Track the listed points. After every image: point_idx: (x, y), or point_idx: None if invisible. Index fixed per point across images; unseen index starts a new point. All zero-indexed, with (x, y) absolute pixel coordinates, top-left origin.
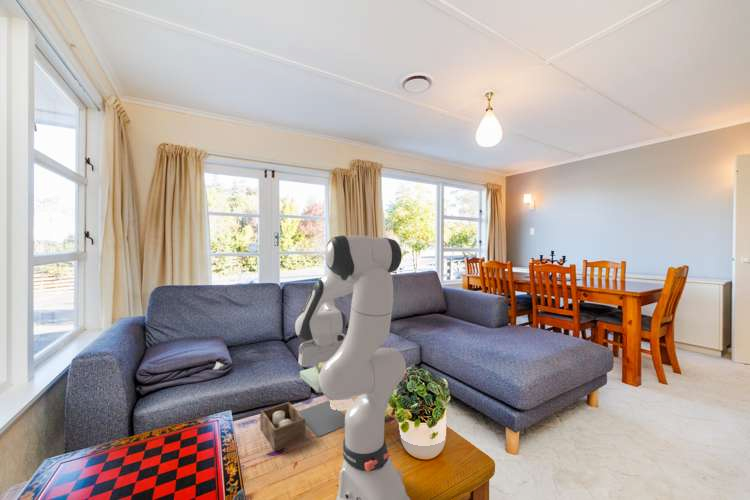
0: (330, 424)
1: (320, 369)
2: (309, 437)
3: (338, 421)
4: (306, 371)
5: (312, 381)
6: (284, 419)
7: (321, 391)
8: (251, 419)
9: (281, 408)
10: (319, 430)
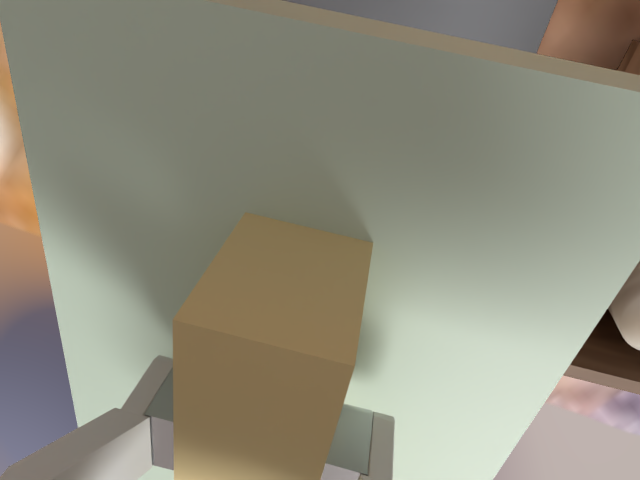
0: (393, 22)
1: (341, 464)
2: (604, 22)
3: (326, 2)
4: None
5: (568, 349)
6: (637, 266)
7: (615, 73)
8: (619, 415)
9: (593, 354)
10: (501, 26)
